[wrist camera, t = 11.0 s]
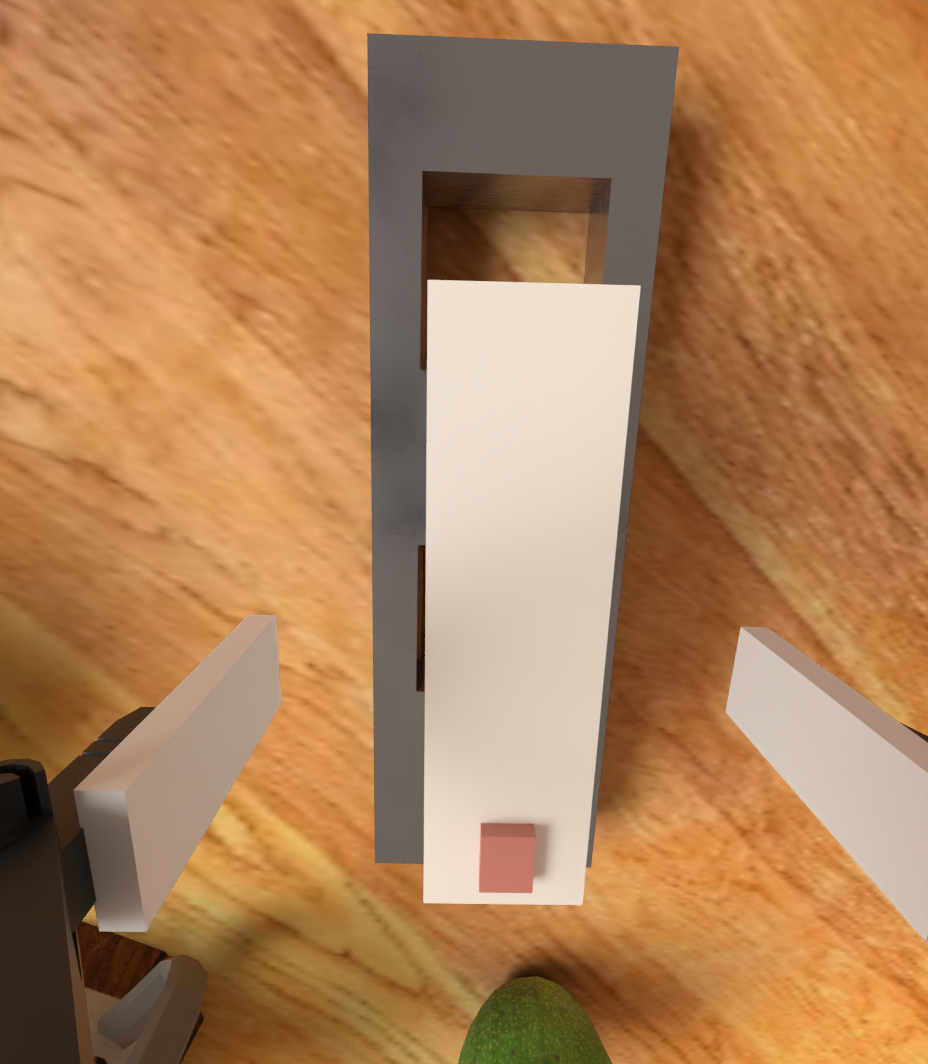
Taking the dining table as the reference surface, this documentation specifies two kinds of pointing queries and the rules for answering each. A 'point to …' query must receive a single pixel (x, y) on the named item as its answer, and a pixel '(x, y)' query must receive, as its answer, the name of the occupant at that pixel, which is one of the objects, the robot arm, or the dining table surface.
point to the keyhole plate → (401, 296)
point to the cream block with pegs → (519, 578)
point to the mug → (139, 999)
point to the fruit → (532, 1027)
